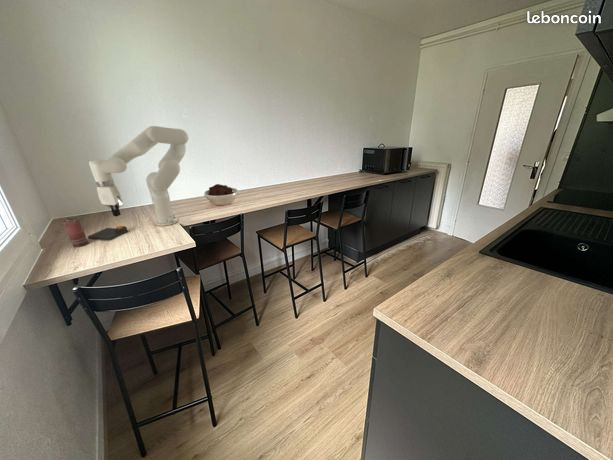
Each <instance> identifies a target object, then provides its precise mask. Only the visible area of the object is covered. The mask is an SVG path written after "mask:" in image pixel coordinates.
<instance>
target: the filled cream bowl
mask: <svg viewBox="0 0 613 460" xmlns="http://www.w3.org/2000/svg"><path fill="white" fill-rule="evenodd" d="M238 194H239V190H238V189H237V188H234V187H231V186H228V185H227V184H220V183H216V184H214V185H212V186H209V187H208V189H207V190H206V191H204V193H203V195H204V197H205V199H207V200H208V201H209V203H210V204H212V205H215V206H225V205H226V206H227V205H230V204H232V203H234V202H235V200H236V198H237V197H238Z"/></svg>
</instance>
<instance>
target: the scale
mask: <svg viewBox="0 0 613 460" xmlns="http://www.w3.org/2000/svg"><path fill="white" fill-rule="evenodd" d="M122 226H123V229H118V228H117V227H115V228H114V227H106V228H103V229H100V230H99V231H96V232H94V233H91V234H89V235H88V236H86V238H87V239H89V240H100V241H112V240H114V239H115V238H117V237H120V236H122V235H124V234H126V233H128V228H127V226H125V225H122Z"/></svg>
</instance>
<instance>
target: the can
mask: <svg viewBox="0 0 613 460" xmlns="http://www.w3.org/2000/svg"><path fill="white" fill-rule="evenodd" d="M62 225H63V226H64V229H65V230H66V233H67V235H68V237H69V240H70V242H71V245H72V246H73V247H74V248H81V247H84V246H87V245H88V244H89V241H88V237H87V236H86V234H85V231H84V228H83V226H82V223H81V221H80V219H79V218H75V217H74V218H68V219H65V220H64V221H63V224H62Z"/></svg>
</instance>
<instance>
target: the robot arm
mask: <svg viewBox="0 0 613 460" xmlns="http://www.w3.org/2000/svg"><path fill="white" fill-rule="evenodd" d="M188 141H189V135H188V133H187V132H186V130H184V129H180V128H173V127H164V126H159V125H151V126H148V127H147V128H145V129H144V130H143V131H142V132H141V133H139V134H138V135H136V136H135V137H134V138H133V139H131V141H129V142H128V143H126V144H125V145H124V146H122V147H121V148H119V149H118V150H117V151H116V152H114V153H113V154H111V156H110V157H108V158H107V159H92V160H89V162H88V166H89V168H90V171H91V174H92V176H93V179H94V181H95V184H96V192H97V196H98V199H99V201H100V204H102V205H103V206H106V207H108V208H109V210H110V211H111V213H112V216H113V217H119V216H121V211H120V207H122V206H123V199H122V196H121V193H120V191H119V189H118V187H117V186H116V184H115V180H114V178H113V176H112V174H120V173H124V172H126V170H127V167H128V164H129V163H130V162H131V161H132V160H134V159H135V158H138V157H142V156H143V155H145V154H147V153H149V151H150V150H151V149H152V148H153V147H155V146H156V145H158V144H167V145H170V146H169V148H168V150H167V151H166V153H165V154H164V156H162V158H161V159H160V160H159V161H158V165H157V167H158V170H157V172H156V171H153V172H150V173H148V174H147V176H146V178H145V180H146V182H145V183H146V186H147V188H148V191H149V195H150V198H151V203H152V205H153V209H154V213H155V217H156V220H155V222H154V224H155V226H158V227H166V226H167V227H168V226H171V225H174V224H176V223H177V222H179V219H180V217H179V216H176V215H175V214H174V211H173V207H172V203H171V198H170V193H169V190H168V189H169V188H170V187H171V185H172V184H173V183H174V182H175V180H176V178H177V177H178V176H179V175H180V171H181V165H180V163H181V162H182V160H183V158H184V157H185V154H186V150H187V148H186V147H187V146H186V144H187V143H188Z"/></svg>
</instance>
